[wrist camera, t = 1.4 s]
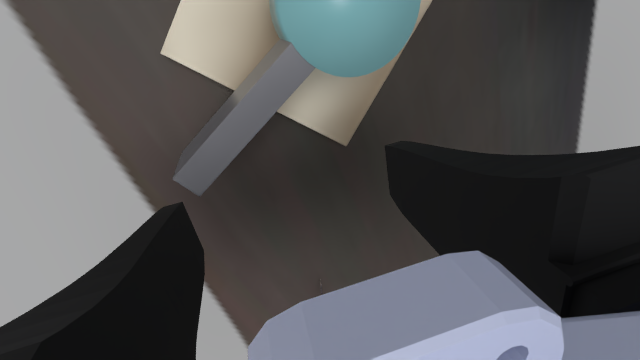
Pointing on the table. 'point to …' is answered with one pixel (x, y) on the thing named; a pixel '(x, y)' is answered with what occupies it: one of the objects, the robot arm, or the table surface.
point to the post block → (252, 46)
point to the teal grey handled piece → (297, 71)
